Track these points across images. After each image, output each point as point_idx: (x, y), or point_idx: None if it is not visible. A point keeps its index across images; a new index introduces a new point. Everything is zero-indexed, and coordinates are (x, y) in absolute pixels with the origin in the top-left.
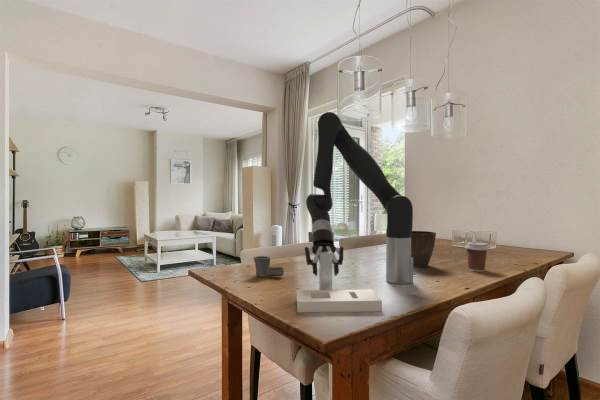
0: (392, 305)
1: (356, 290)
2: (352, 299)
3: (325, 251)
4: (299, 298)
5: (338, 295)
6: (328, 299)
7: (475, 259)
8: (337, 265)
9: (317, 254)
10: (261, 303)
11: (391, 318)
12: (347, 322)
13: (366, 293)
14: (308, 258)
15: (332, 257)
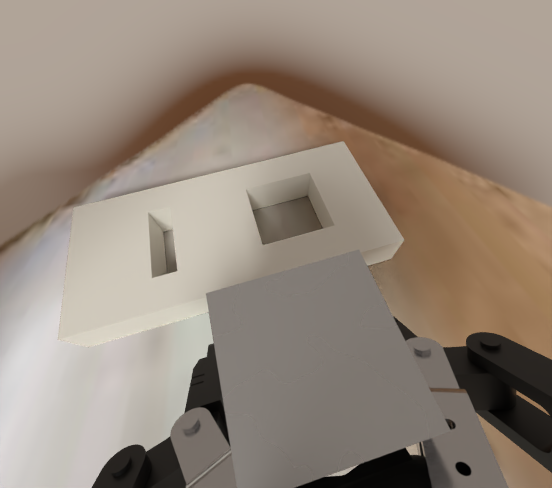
0: (36, 287)
1: (138, 302)
2: (172, 195)
3: (322, 395)
4: (349, 163)
5: (220, 220)
6: (253, 177)
7: None
8: (193, 402)
9: (444, 413)
10: (485, 198)
11: (89, 188)
12: (204, 146)
13: (103, 270)
14: (511, 352)
15: (229, 454)
